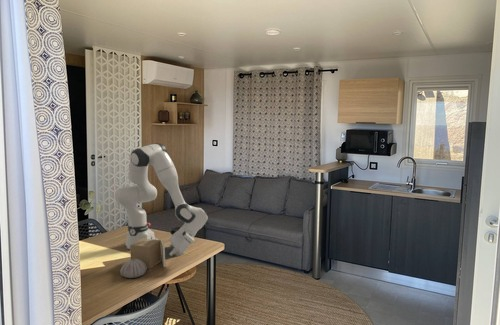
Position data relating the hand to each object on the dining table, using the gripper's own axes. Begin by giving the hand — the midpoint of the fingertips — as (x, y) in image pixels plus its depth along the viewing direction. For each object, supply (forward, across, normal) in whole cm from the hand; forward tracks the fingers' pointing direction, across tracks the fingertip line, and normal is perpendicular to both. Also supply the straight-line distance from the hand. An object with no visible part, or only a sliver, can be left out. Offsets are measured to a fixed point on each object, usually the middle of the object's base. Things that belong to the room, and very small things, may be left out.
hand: (168, 253), depth 207 cm
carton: (+12, -9, -3) cm, 15 cm away
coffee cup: (-2, -16, +12) cm, 20 cm away
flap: (+5, -3, +5) cm, 7 cm away
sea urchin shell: (+19, +4, -9) cm, 21 cm away
